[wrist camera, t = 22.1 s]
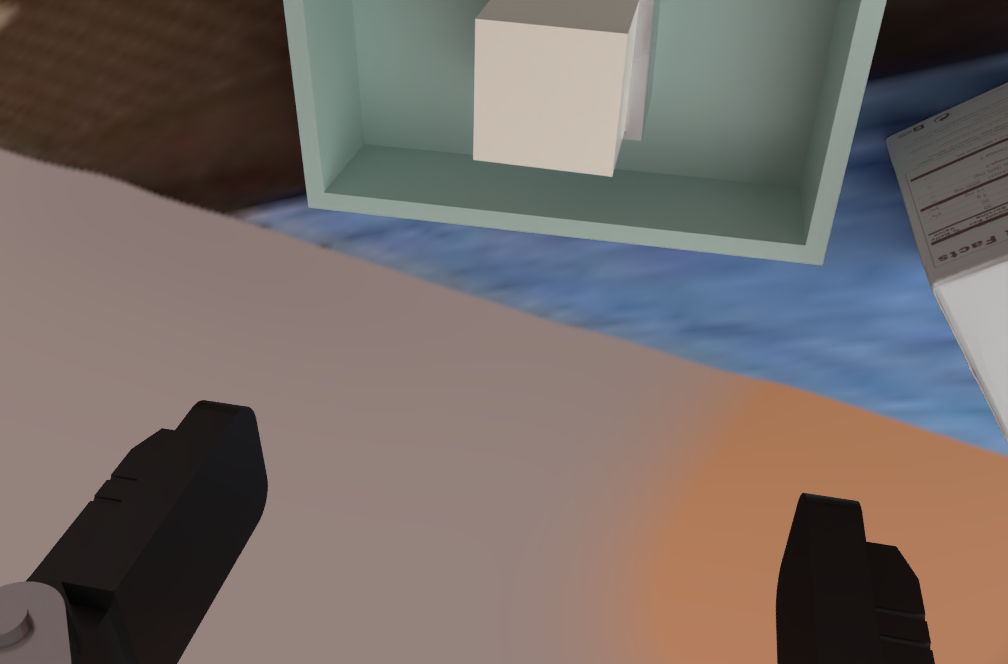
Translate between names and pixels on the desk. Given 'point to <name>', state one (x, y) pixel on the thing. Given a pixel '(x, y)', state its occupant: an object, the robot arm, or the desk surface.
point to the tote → (640, 164)
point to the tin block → (642, 69)
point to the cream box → (553, 82)
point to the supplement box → (964, 227)
